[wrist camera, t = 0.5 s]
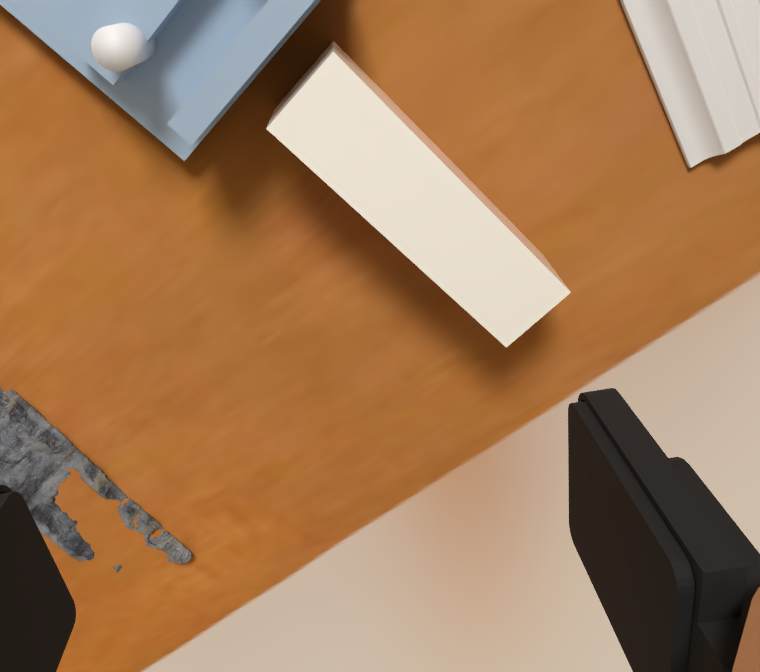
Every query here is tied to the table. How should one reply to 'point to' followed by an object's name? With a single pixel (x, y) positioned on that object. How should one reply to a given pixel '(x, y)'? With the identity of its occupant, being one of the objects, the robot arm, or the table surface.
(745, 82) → the grooved white panel
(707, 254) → the table surface
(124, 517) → the driftwood
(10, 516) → the robot arm
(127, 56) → the rack
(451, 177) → the clay bar
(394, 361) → the table surface
